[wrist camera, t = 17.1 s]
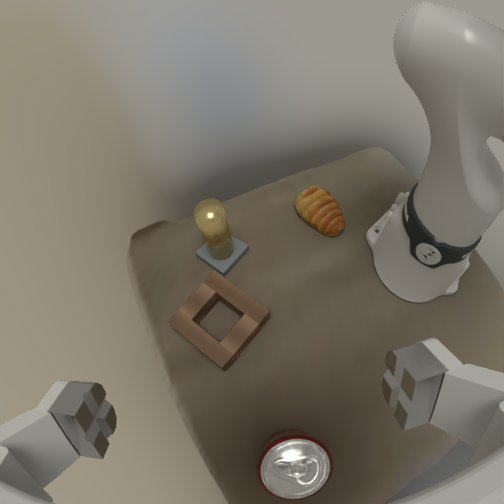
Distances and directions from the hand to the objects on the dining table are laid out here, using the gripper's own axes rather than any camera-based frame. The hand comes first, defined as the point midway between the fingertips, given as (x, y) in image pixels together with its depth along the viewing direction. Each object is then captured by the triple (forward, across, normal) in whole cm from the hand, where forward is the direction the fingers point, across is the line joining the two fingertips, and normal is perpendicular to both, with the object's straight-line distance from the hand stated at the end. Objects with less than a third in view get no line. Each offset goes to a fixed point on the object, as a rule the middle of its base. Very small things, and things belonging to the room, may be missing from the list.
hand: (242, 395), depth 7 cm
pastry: (+45, -13, +3) cm, 47 cm away
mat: (+41, +4, +6) cm, 42 cm away
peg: (+40, +4, +6) cm, 41 cm away
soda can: (+19, -2, +29) cm, 34 cm away
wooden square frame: (+33, +5, +14) cm, 36 cm away
